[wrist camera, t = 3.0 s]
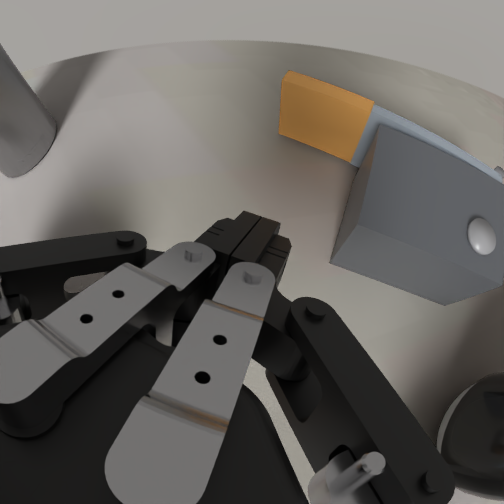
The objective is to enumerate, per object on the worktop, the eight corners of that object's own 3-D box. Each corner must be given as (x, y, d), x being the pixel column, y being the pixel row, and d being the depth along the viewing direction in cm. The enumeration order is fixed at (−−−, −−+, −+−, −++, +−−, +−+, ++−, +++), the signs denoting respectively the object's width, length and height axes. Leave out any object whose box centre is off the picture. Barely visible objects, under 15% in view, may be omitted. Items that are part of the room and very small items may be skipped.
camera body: (329, 262, 25) (359, 221, 17) (353, 180, 27) (381, 120, 19) (467, 314, 23) (530, 296, 15) (477, 234, 25) (530, 197, 17)
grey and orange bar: (278, 134, 28) (282, 78, 21) (285, 122, 28) (290, 66, 22) (461, 221, 25) (504, 186, 18) (463, 206, 26) (504, 170, 19)
